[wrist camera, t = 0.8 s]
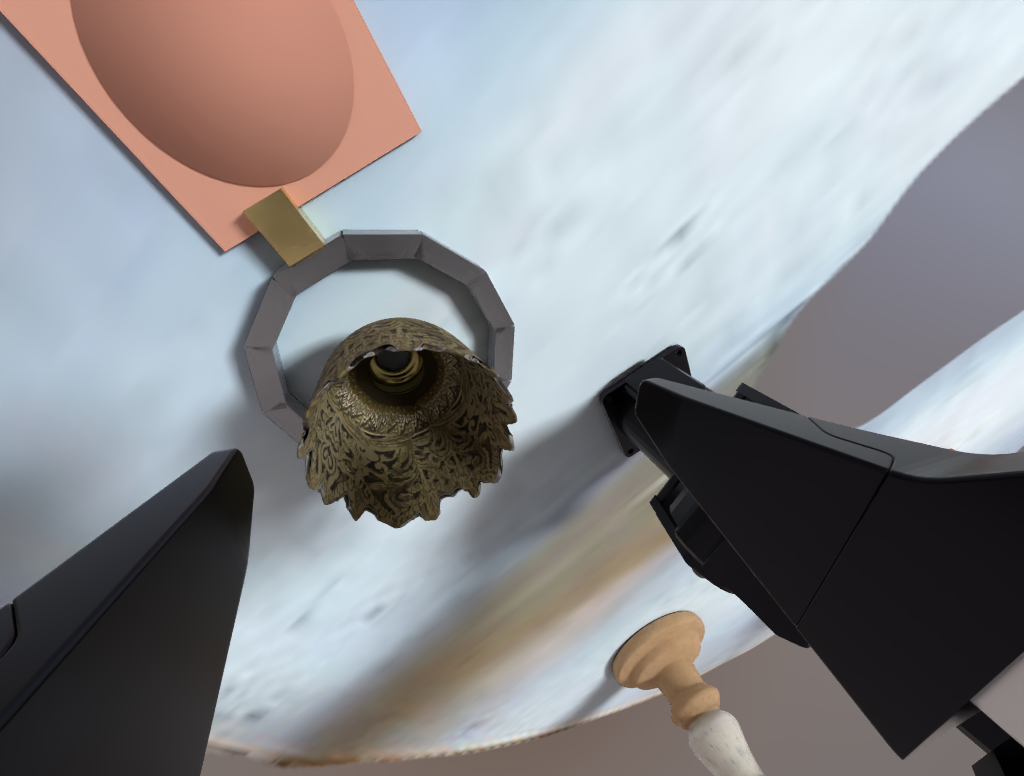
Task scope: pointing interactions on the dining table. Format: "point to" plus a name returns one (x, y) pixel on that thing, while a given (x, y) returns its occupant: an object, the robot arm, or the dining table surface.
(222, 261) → the dining table surface
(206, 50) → the coaster
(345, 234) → the collar
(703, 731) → the candle holder
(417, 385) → the cup
